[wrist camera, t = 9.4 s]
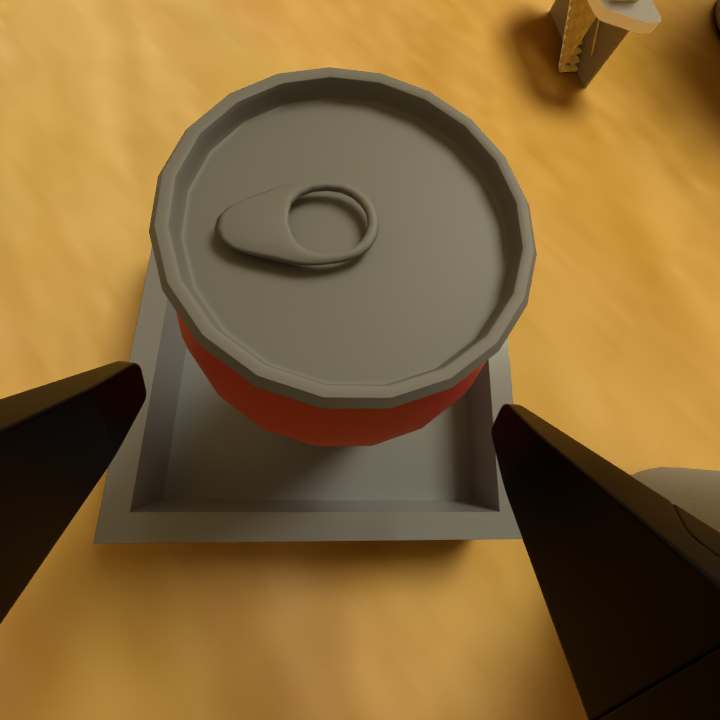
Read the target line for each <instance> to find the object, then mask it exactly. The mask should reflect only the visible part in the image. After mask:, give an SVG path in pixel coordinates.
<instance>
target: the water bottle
mask: <svg viewBox="0 0 720 720" xmlns="http://www.w3.org/2000/svg"><path fill="white" fill-rule="evenodd" d="M632 477H634V478H635V479H637V480H638V481H640V482H641V483H643V484H645V485H646V486H648V487H649V488H651V489H652V490H654V491H655V492H657V493H659V494H660V495H662V496H663V497H665V498H666V499H668V500H669V501H671V503H672V504H676V505H677V506H679V507H681V508H682V509H684V510H685V511H687V512H688V513H690V514H691V515H693V516H695V517H696V518H698V519H699V520H701V521H703V522H704V523H706V524H707V525H709V526H711V527H712V528H714V529H715V530H717V531H718V532H720V471H712V470H700V469H687V468H672V467H659V468H654V469H649V470H644V471H640V472H638V473H636V474H634V475H632Z"/></svg>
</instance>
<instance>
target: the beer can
mask: <svg viewBox="0 0 720 720" xmlns="http://www.w3.org/2000/svg"><path fill="white" fill-rule="evenodd" d="M149 234H150V238H151V243H152V247H153V251H154V256H155V260H156V265H157V269H158V274H159V278H160V283H161V287H162V291H163V292H164V294H165V295H166V297H167V298H168V300H169V301H170V303H171V304H172V306H173V307H174V308H175V310H176V314H177V318H178V322H179V327H180V331H181V335H182V338H183V340H184V342H185V344H186V346H187V348H188V350H189V352H190V353H191V355H192V356H193V358H194V359H195V361H196V362H197V364H198V365H199V367H200V368H201V370H202V371H203V373H204V374H205V376H206V377H207V379H208V380H209V382H210V383H211V385H212V386H213V388H214V389H215V391H216V392H217V394H218V395H219V396H220V397H221V398H222V399H224V400H225V401H226V402H228V403H229V404H230V405H232V406H233V407H234V408H236V409H237V410H238V411H240V412H241V413H242V414H244V415H245V416H246V417H248V418H249V419H250V420H252V421H253V422H254V423H256V424H257V425H258V426H260V427H261V428H262V429H264V430H267V431H271V432H274V433H277V434H280V435H283V436H286V437H289V438H292V439H295V440H298V441H301V442H304V443H308V444H311V445H314V446H317V447H319V446H373V445H376V444H379V443H382V442H385V441H388V440H390V439H393V438H396V437H399V436H402V435H405V434H407V433H410V432H413V431H416V430H419V429H422V428H423V427H424V426H426V425H427V424H428V423H429V422H431V421H432V420H433V419H434V418H436V417H437V416H438V415H439V414H441V413H442V412H443V411H444V410H446V409H447V408H448V407H449V406H451V405H452V404H453V403H454V402H456V401H457V400H458V399H459V398H461V397H462V396H463V394H464V393H465V392H466V391H467V390H468V389H469V388H470V387H471V386H472V384H473V382H474V381H475V379H476V377H477V376H478V374H479V372H480V371H481V369H482V368H483V366H484V364H485V363H486V361H487V360H488V359H490V358H491V357H492V356H493V355H495V354H496V353H497V352H498V351H499V350H500V349H501V347H502V345H503V344H504V342H505V340H506V339H507V337H508V335H509V334H510V332H511V330H512V329H513V327H514V326H515V324H516V322H517V321H518V319H519V317H520V316H521V314H522V312H523V311H524V309H525V307H526V306H527V303H528V297H529V292H530V287H531V281H532V276H533V271H534V265H535V260H536V255H537V254H536V248H535V241H534V235H533V228H532V222H531V215H530V209H529V204H528V202H527V200H526V198H525V196H524V194H523V192H522V190H521V188H520V186H519V184H518V182H517V180H516V178H515V176H514V174H513V172H512V170H511V168H510V166H509V164H508V162H507V160H506V158H505V156H504V155H503V154H502V153H501V152H500V151H499V149H498V148H497V147H496V146H495V145H494V144H493V143H492V142H491V141H490V139H489V138H488V137H487V136H486V135H485V134H484V133H483V132H482V131H481V130H480V128H479V127H478V126H477V125H476V124H475V123H474V122H473V121H472V120H471V119H470V118H468V117H467V116H465V115H464V114H462V113H461V112H459V111H458V110H456V109H455V108H453V107H452V106H450V105H449V104H447V103H446V102H444V101H443V100H441V99H440V98H438V97H437V96H435V95H434V94H432V93H431V92H429V91H427V90H424V89H421V88H419V87H416V86H413V85H411V84H408V83H405V82H402V81H400V80H397V79H394V78H392V77H389V76H386V75H383V74H380V73H372V72H363V71H355V70H347V69H338V68H330V67H329V68H321V69H313V70H305V71H297V72H289V73H281V74H276V75H274V76H271V77H269V78H266V79H264V80H262V81H259V82H257V83H254V84H252V85H249V86H247V87H245V88H242V89H240V90H237V91H235V92H232V93H230V94H229V95H227V96H226V97H225V98H224V99H223V100H221V101H220V102H219V103H218V104H217V105H215V106H214V107H213V108H212V109H211V110H209V111H208V112H207V113H206V114H204V115H203V116H202V117H201V118H200V119H198V120H197V121H196V122H195V123H194V124H192V125H191V126H190V127H189V128H188V129H187V130H186V131H185V132H184V134H183V136H182V137H181V139H180V141H179V142H178V144H177V146H176V147H175V149H174V151H173V152H172V154H171V156H170V157H169V159H168V161H167V162H166V164H165V166H164V167H163V169H162V171H161V172H160V174H159V176H158V180H157V186H156V192H155V198H154V204H153V210H152V217H151V223H150V229H149Z"/></svg>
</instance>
